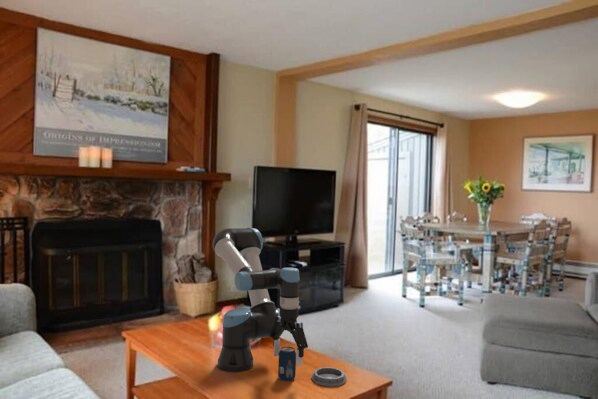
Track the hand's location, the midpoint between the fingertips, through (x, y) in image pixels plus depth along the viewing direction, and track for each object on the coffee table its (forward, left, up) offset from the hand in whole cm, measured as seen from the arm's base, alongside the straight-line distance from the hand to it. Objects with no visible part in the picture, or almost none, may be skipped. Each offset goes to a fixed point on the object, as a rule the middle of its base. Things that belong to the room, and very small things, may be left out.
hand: (287, 360), depth 191 cm
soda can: (0, 0, -8) cm, 8 cm away
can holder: (+11, +13, -8) cm, 18 cm away
